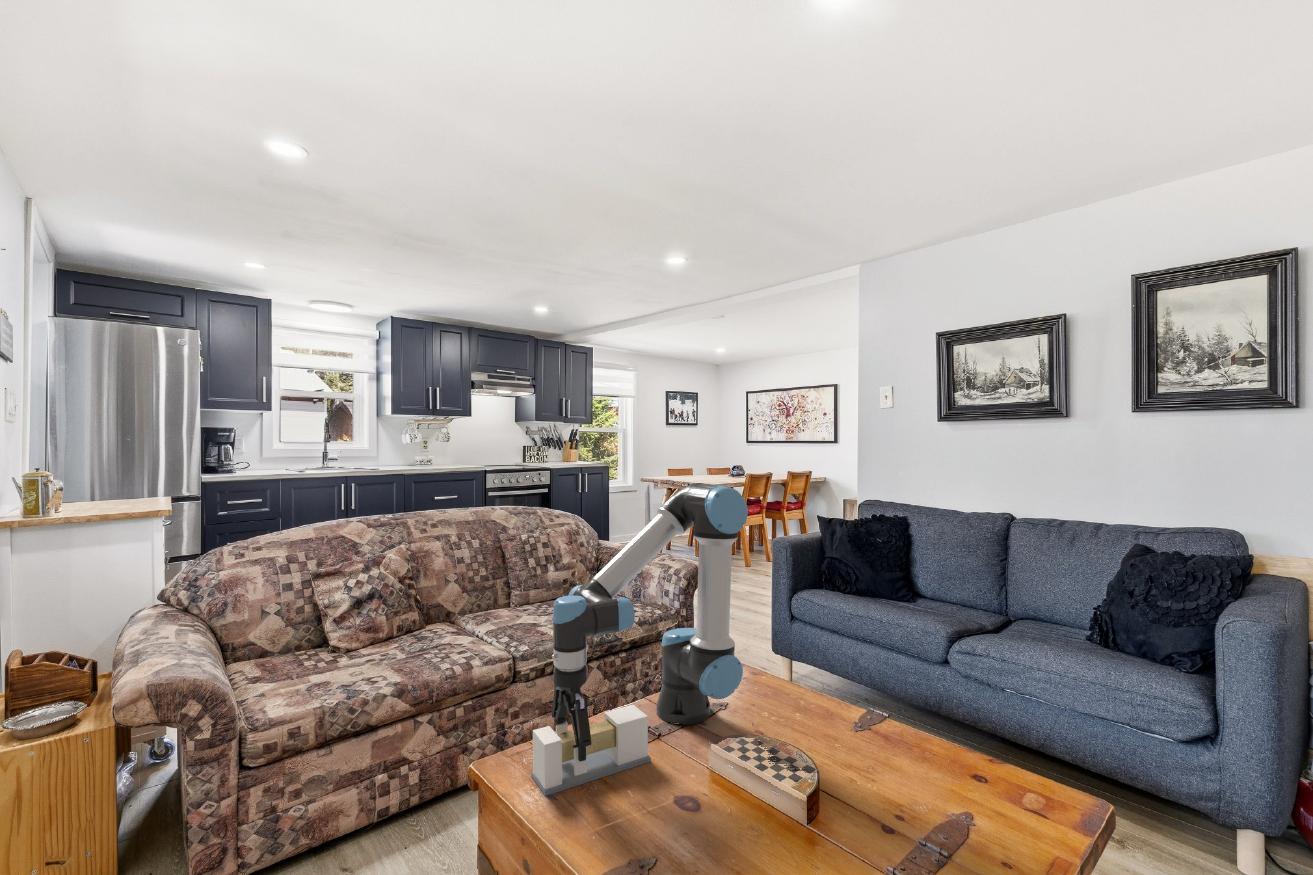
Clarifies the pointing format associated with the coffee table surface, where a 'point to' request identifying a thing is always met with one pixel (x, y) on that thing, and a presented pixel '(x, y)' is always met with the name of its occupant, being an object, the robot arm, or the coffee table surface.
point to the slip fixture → (600, 764)
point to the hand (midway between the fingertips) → (570, 761)
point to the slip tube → (600, 739)
